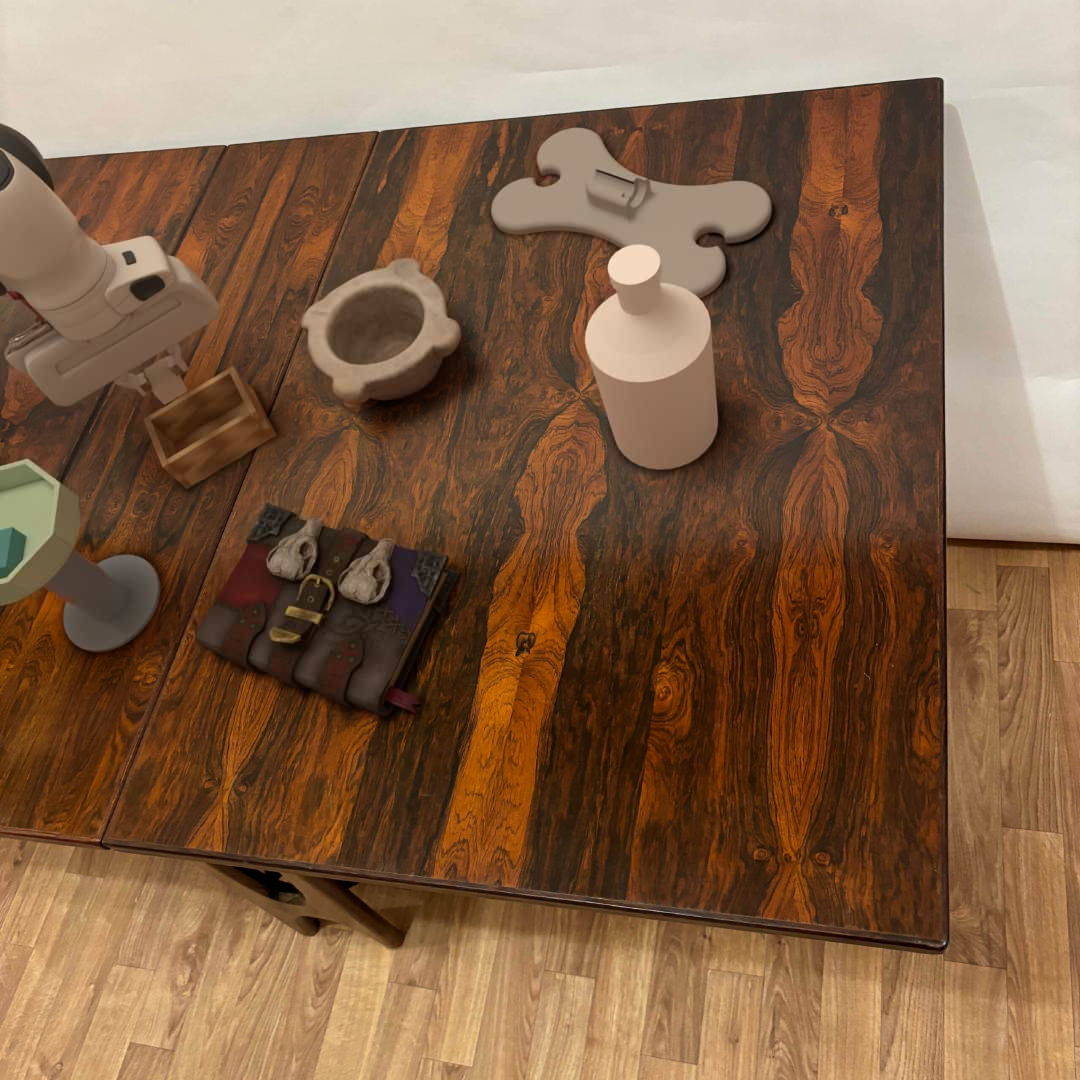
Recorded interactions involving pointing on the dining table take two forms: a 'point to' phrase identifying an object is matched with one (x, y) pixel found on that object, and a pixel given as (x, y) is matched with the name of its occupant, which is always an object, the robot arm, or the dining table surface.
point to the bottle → (653, 363)
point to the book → (328, 609)
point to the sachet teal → (10, 550)
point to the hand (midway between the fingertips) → (165, 379)
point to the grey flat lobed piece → (632, 209)
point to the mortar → (381, 333)
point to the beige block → (164, 381)
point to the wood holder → (208, 428)
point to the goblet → (72, 563)
